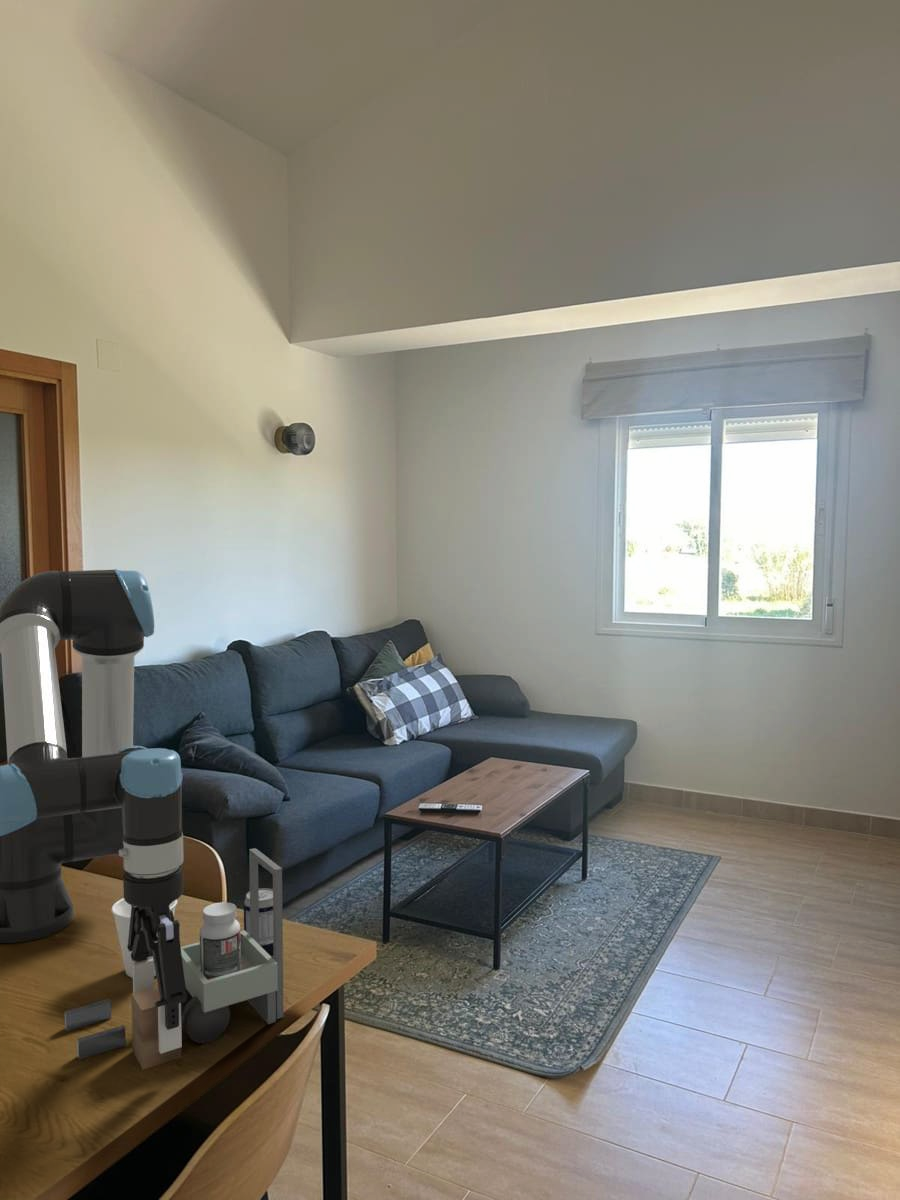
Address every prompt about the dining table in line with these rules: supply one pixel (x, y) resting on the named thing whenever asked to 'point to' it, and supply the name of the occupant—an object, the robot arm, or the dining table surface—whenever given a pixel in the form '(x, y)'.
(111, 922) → the dining table surface
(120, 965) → the dining table surface
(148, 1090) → the dining table surface
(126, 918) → the cup
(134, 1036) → the brown rectangular block
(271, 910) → the cylindrical canister
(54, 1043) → the dining table surface
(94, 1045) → the grey blocks
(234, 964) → the pill bottle
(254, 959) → the trolley
